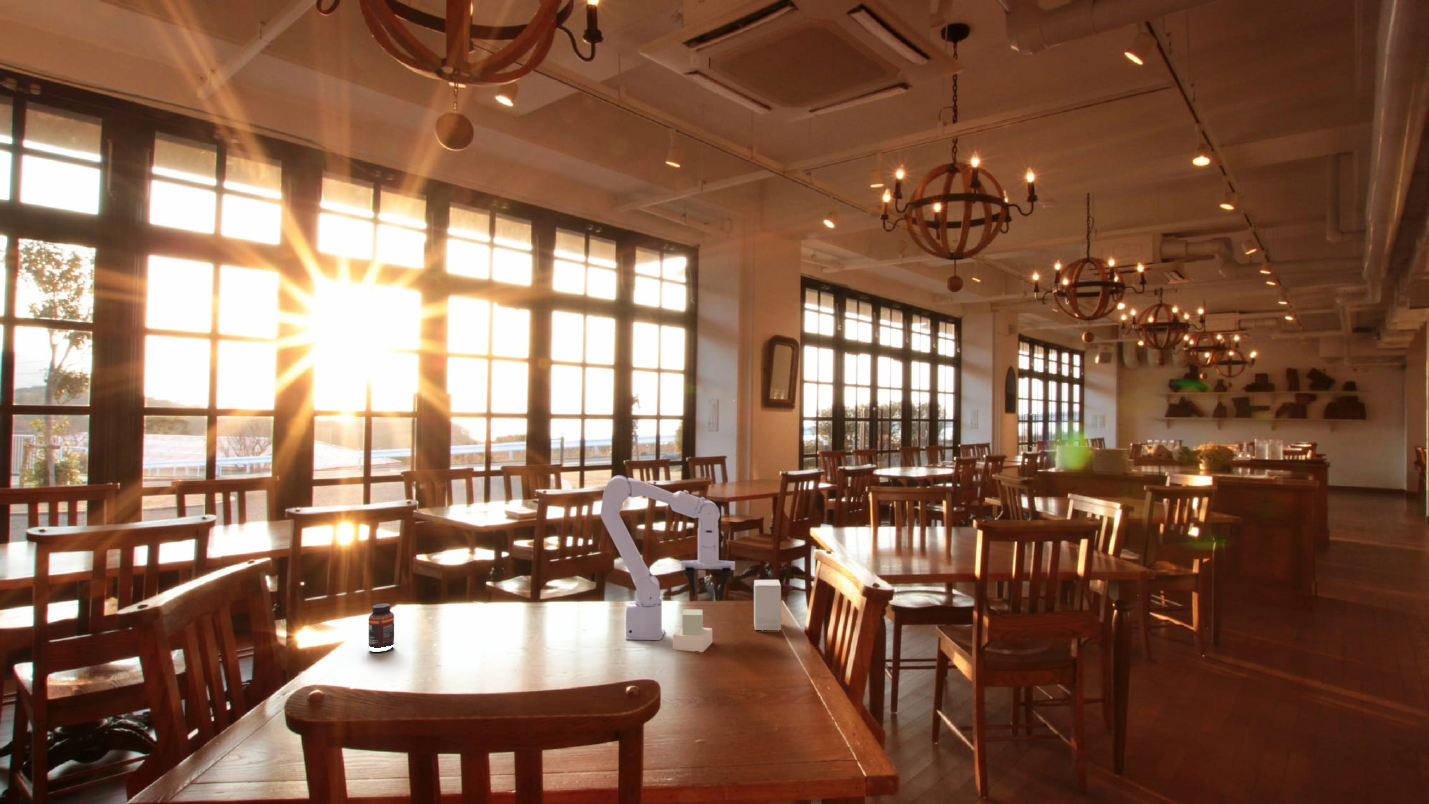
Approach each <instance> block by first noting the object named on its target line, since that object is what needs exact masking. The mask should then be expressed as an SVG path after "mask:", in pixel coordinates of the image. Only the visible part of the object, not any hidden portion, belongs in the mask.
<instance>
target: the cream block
mask: <svg viewBox="0 0 1429 804" xmlns="http://www.w3.org/2000/svg"><path fill="white" fill-rule="evenodd" d="M711 644H713V628H712V627H703V631H702V635H683V626H682V627H681V628H679V629H677V631H675V632H674V633H673V634H672V650H679V651H685V652H686V651H688V652H695V651H699V652H698V653H703V652H704V651H706V650H707V648H708V647H710V645H711Z"/></svg>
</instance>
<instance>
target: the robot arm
mask: <svg viewBox="0 0 1429 804" xmlns="http://www.w3.org/2000/svg"><path fill="white" fill-rule="evenodd" d="M605 486H606V487H605V489H604V490H603V493H602V501H601V509H600V518H601V520H602V522H603V524H604V525H605V528H606V530H607V533H609V536H610V538H611V539H612V541H613V544H614V545H615V547H616V549H617V551H618V553H619V555H620V556H621V559H622V561H623V562H624V565H625V567H626V568H627V570H628V572H629V573H630V576H631V580H632V582H633V584H634V586H635V587H634V588H635V589H636V599H635V600H634V602H633V601H631V602H628V603H627V605H626V612H625V639H626V640H633V641H634V640H635V641H637V640H639V641H661V640H662V638H663V636H664V635H665V632H666V629H663V626H662V620H663V617H662V616H663V615H662V612H663V611H662V609H663V608H662V605H663V603H662V598H661V589H660V581H659V579H658V578H657V576H655V575H654V574H652V572H651V571H650V568H649V567H648V566H647V565H646V563H645V561H644V559H643V558H642V556H641V553H640V552H639V550H638V548H637V546H636V544H635V542H634V540H633V538H632V535H631V534H630V532H629V530H628V528H627V527H626V524H625V523H624V521H623V519H622V517H621V515H620V512H621V510H622V507H623V505H624V502H626V500H627V499H628V497H629V496H631V498H632V499H633V498H637V497H642V496H643V497H646V498H649V499H652V500H654V501H659V502H662V503H664V504H667V505H669V506H670V508H671V510H672V511H673V512H676V513H679V514H681V515H684V516H687V517H690V518H692V519H696V518H698V528H697V559H691V560H681V564H680V565H681V566H680V568H681V570H684V574H685V576H686V578H687V580H688V582H689V585H690V589H691V594H692V597H696V595H697V587H696V585H697V584H696V573H697V572H696V570H698V569H700V570H702V569H703V570H704V569H705V570H706V569H708V570H720V576H721V577H720V583H721V585H720V586H721V587H720V597H724V596H725V590H726V589H725V587H726V584H727V581H728V579H729V577H730V575H731V571H735V569H736V561H733V560H720V559H719V558H720V557H719V556H720V555H719V554H720V553H719V551H720V550H719V546H720V545H719V544H720V543H719V538H720V536H719V535H720V534H719V533H720V532H719V519H720V516H721V513H720V509H719V507H718V506H717V505H716V504H715V502H713V501H711V500H710V499H706V498H705V497H704V496H701V497H699V496H696V495H693V494H690V493H689V490H686V489H684V490H683V491H682V490H678V491H676V492H670V491H669V490H666V489H663V488H661V487H659V486H655V485H653V484H650V483H648V482H646V481H643V480H640V479H637V478H633V477H626V476H624V475H621V474H620V475H619V474H618V475H615V476H612V477H611V478H610V479H609V480H608V482H607V484H606V485H605Z"/></svg>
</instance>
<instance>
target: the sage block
mask: <svg viewBox="0 0 1429 804" xmlns="http://www.w3.org/2000/svg"><path fill="white" fill-rule="evenodd" d="M703 611H704V610H703V609H689V608H688V609H687V608H686V609H683V611H682V627H683V635H702V631H703V628H704V625H703V623H704V621H703V619H704V618H703V617H704V615H703V613H704V612H703Z"/></svg>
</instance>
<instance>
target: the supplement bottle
mask: <svg viewBox="0 0 1429 804" xmlns="http://www.w3.org/2000/svg"><path fill="white" fill-rule="evenodd" d="M393 644H394V645H395V614H394V612H392V611H391V604H390V603H377V604H375V605H372V613H371V614H370V615H369V616H368V647H369V646H370V647H374V648H381V647H386V646H391V645H393Z"/></svg>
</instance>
